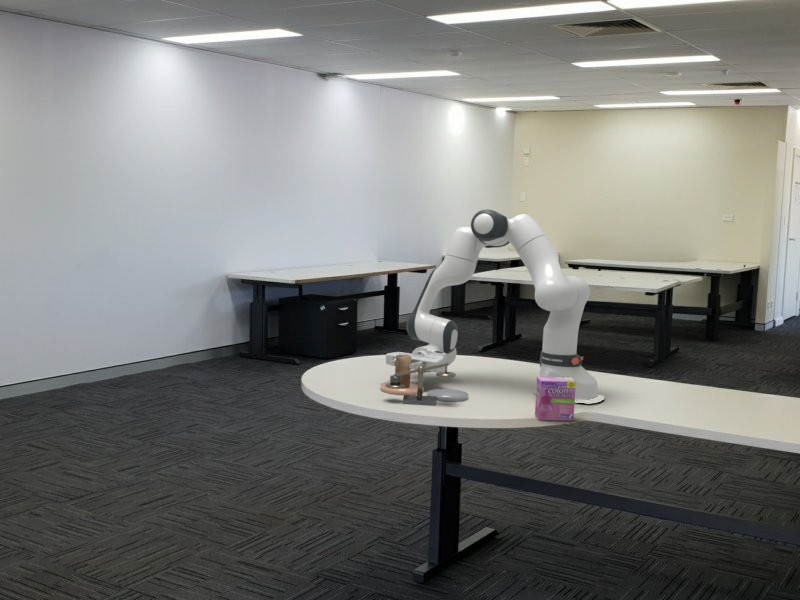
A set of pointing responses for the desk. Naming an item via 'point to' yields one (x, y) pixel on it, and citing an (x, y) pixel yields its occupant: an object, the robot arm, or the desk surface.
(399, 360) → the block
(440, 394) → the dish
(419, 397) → the balance
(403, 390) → the dish
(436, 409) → the desk surface
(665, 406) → the desk surface
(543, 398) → the box
